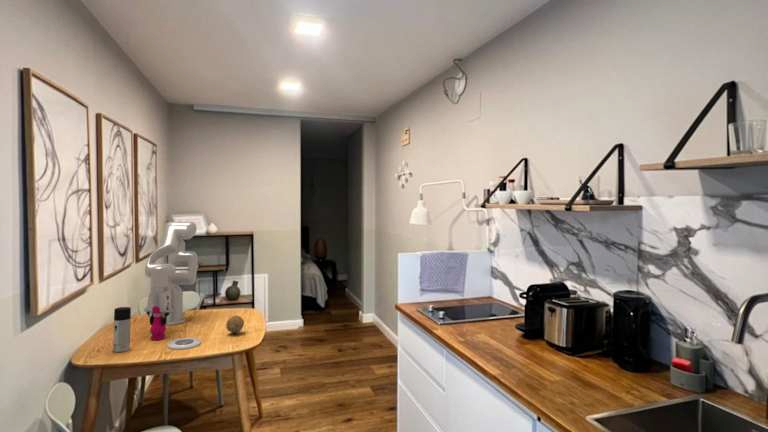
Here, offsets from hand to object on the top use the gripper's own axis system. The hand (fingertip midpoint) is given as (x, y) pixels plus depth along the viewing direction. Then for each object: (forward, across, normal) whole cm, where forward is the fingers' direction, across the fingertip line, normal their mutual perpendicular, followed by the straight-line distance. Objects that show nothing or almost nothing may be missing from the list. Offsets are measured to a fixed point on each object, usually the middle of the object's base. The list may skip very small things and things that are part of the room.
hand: (158, 324), depth 210 cm
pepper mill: (+8, 0, 0) cm, 8 cm away
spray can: (+8, +7, +18) cm, 21 cm away
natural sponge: (+8, -36, -11) cm, 38 cm away
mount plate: (+8, -18, +8) cm, 21 cm away
